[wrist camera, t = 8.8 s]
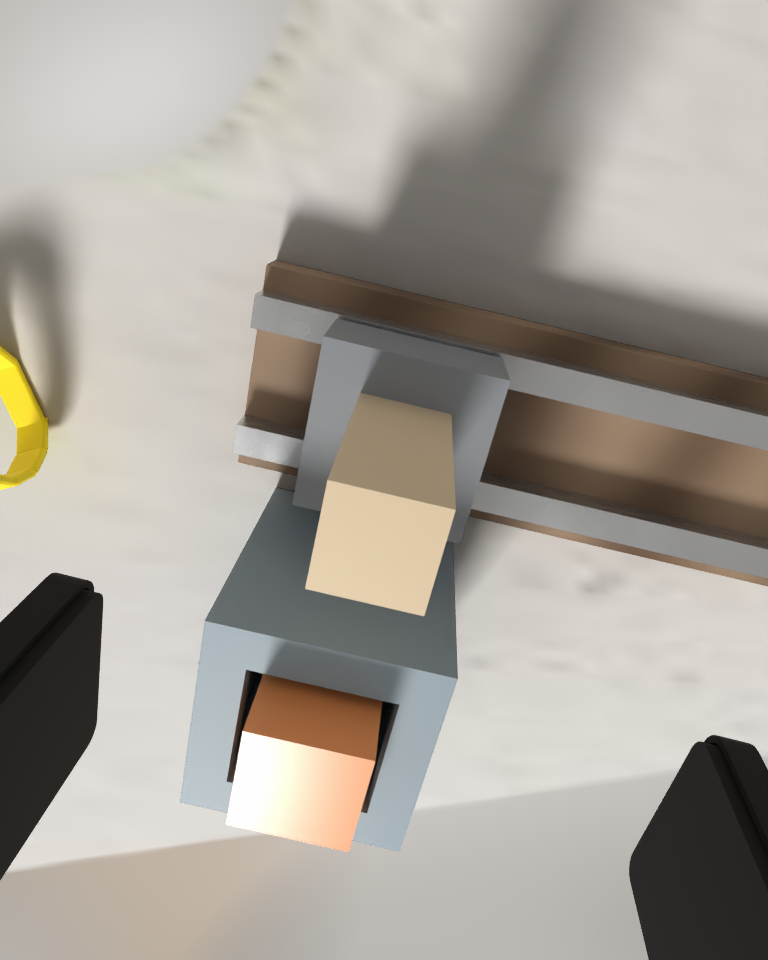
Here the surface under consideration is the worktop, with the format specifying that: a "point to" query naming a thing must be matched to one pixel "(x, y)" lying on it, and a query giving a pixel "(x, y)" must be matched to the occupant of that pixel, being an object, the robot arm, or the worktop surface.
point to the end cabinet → (321, 667)
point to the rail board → (548, 423)
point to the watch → (22, 422)
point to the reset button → (305, 762)
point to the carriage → (393, 459)
